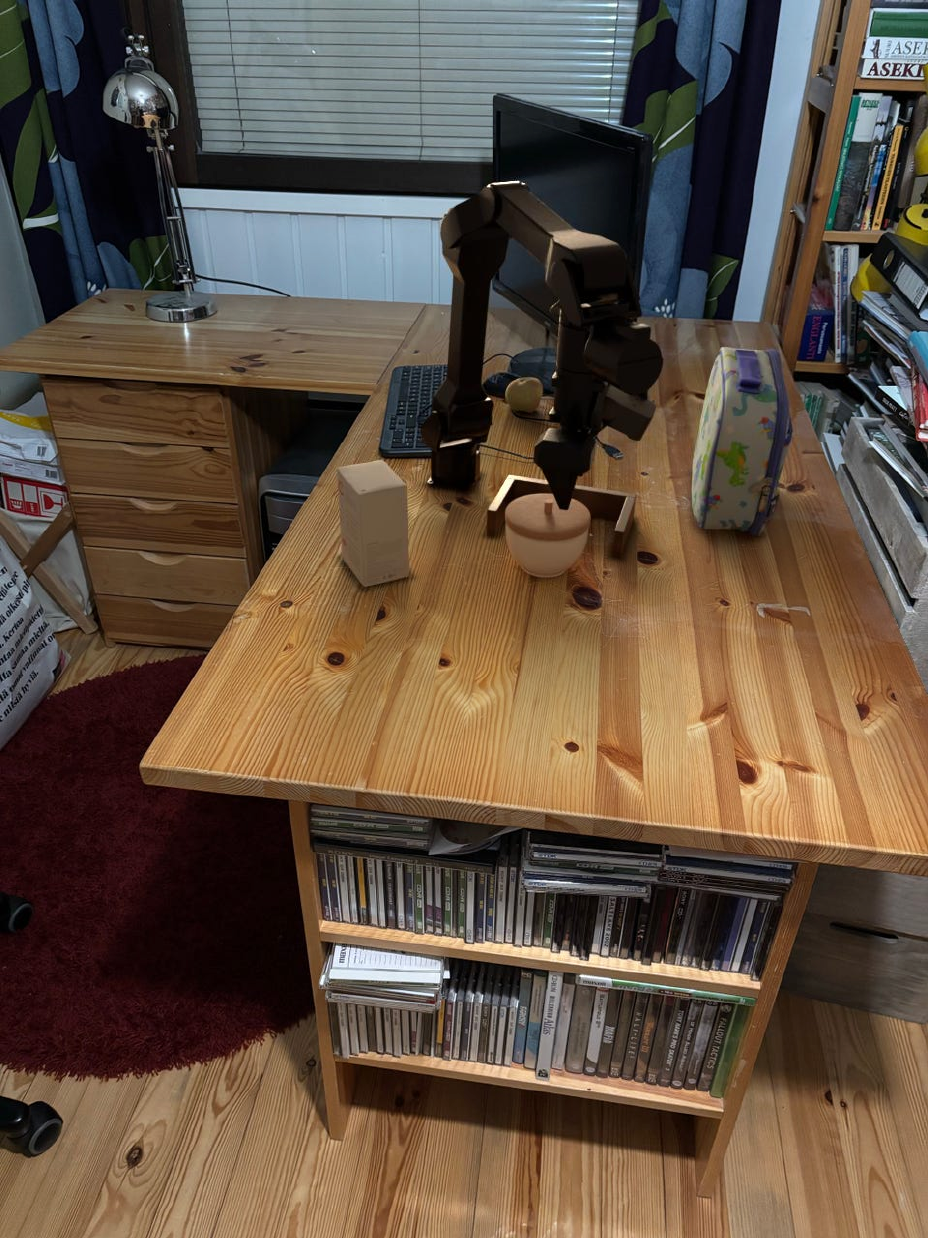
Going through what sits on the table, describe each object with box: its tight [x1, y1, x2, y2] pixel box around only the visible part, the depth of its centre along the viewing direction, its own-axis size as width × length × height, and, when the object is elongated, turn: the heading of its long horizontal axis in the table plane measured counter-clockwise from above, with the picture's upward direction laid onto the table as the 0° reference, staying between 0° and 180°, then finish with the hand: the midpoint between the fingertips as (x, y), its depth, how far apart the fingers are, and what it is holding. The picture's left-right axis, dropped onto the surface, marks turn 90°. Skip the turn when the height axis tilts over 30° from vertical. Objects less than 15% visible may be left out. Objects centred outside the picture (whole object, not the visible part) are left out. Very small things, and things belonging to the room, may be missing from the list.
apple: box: [504, 377, 544, 414], centre depth 162 cm, size 6×8×6 cm
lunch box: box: [691, 346, 794, 537], centre depth 130 cm, size 26×11×21 cm, turn 169°
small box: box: [336, 459, 410, 588], centre depth 116 cm, size 8×6×13 cm
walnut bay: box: [486, 474, 637, 559], centre depth 128 cm, size 18×11×4 cm, turn 73°
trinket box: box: [504, 494, 592, 579], centre depth 119 cm, size 11×11×9 cm
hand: (571, 491), depth 112 cm, fingers open, 9 cm apart
